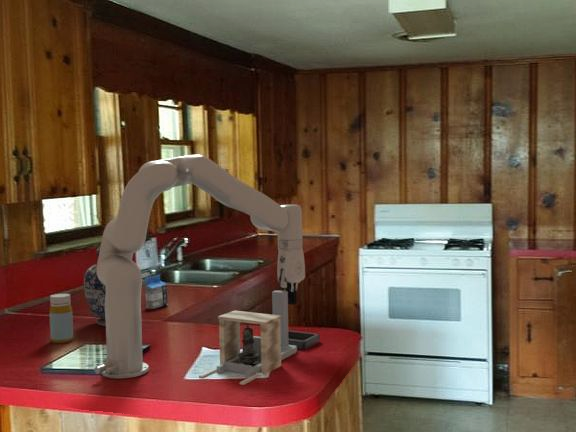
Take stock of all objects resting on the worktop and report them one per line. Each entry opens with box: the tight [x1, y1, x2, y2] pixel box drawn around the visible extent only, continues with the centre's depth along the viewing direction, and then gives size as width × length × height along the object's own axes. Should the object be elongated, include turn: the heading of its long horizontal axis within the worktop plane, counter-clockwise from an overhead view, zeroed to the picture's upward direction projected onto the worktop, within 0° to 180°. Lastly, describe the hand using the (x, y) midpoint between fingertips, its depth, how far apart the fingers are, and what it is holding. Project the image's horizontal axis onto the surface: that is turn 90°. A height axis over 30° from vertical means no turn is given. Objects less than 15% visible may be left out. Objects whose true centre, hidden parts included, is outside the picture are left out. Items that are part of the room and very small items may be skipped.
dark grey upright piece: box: [238, 324, 259, 367], centre depth 190 cm, size 6×6×12 cm
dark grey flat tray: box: [288, 329, 321, 350], centre depth 214 cm, size 10×12×2 cm
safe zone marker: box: [198, 366, 263, 386], centre depth 183 cm, size 9×14×1 cm, turn 61°
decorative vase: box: [83, 244, 106, 327], centre depth 245 cm, size 21×19×28 cm
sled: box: [216, 289, 298, 378], centre depth 195 cm, size 28×10×18 cm, turn 151°
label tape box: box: [144, 274, 169, 310], centre depth 271 cm, size 9×4×12 cm, turn 148°
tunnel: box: [217, 310, 282, 375], centre depth 191 cm, size 8×16×14 cm, turn 61°
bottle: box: [48, 293, 74, 344], centre depth 222 cm, size 7×7×15 cm
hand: (291, 303), depth 211 cm, fingers closed
